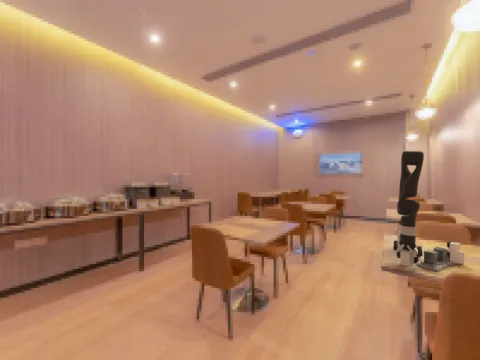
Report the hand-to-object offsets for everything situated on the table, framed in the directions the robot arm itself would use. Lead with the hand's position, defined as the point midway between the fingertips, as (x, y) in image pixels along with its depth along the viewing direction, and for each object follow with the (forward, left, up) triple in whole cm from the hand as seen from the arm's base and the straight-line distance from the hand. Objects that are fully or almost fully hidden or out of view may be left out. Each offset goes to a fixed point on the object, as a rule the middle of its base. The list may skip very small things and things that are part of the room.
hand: (407, 260), depth 133 cm
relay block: (-1, +12, -3) cm, 12 cm away
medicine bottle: (+11, +31, -3) cm, 33 cm away
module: (0, 0, -3) cm, 3 cm away
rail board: (+8, +15, -3) cm, 17 cm away
